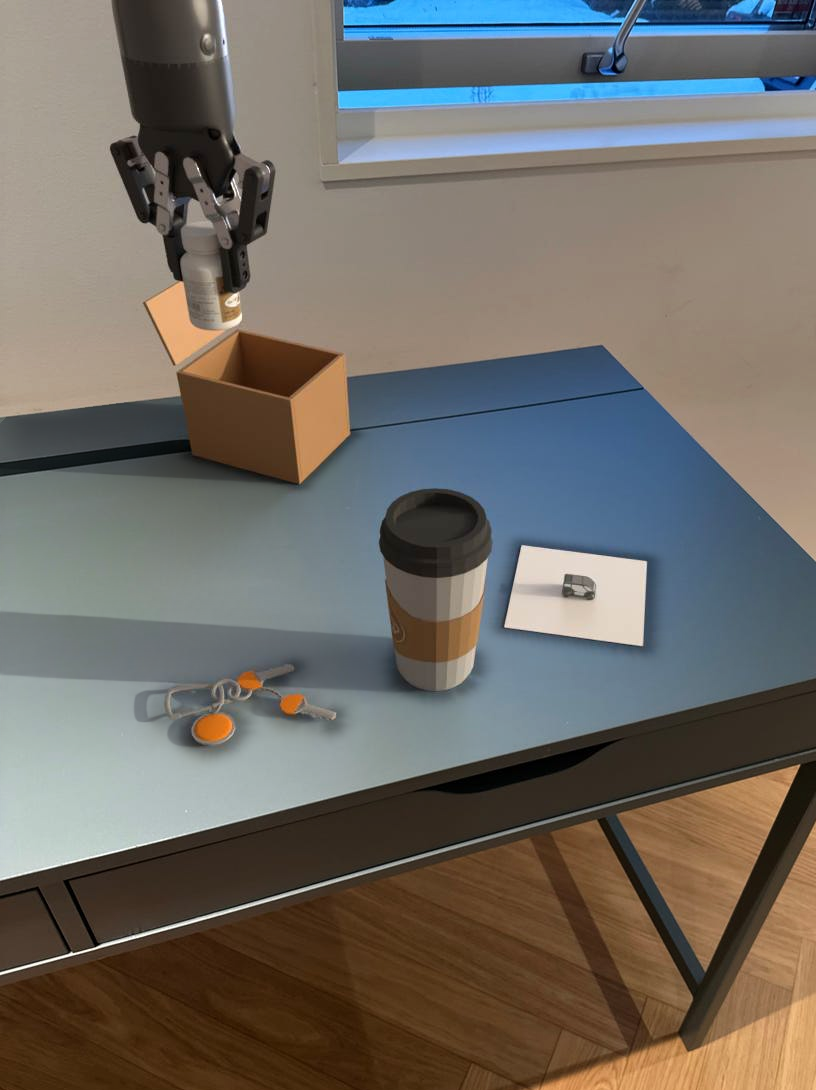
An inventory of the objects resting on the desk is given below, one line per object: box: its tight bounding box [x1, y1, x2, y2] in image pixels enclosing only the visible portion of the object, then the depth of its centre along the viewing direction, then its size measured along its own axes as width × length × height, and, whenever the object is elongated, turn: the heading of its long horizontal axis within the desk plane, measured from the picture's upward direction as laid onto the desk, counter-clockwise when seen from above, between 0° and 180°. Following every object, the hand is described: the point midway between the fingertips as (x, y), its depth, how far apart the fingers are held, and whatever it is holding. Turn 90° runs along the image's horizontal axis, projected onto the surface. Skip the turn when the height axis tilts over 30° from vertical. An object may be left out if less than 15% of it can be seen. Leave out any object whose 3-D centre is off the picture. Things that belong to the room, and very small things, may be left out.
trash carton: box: [175, 328, 351, 485], centre depth 98 cm, size 13×11×10 cm
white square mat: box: [503, 544, 648, 647], centre depth 84 cm, size 12×12×2 cm
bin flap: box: [142, 281, 229, 367], centre depth 94 cm, size 6×11×1 cm
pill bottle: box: [180, 220, 243, 331], centre depth 78 cm, size 4×4×8 cm
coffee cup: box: [378, 487, 493, 692], centre depth 72 cm, size 8×8×15 cm
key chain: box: [163, 663, 337, 746], centre depth 73 cm, size 13×7×1 cm, turn 104°
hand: (210, 282), depth 78 cm, fingers closed on pill bottle, 4 cm apart
